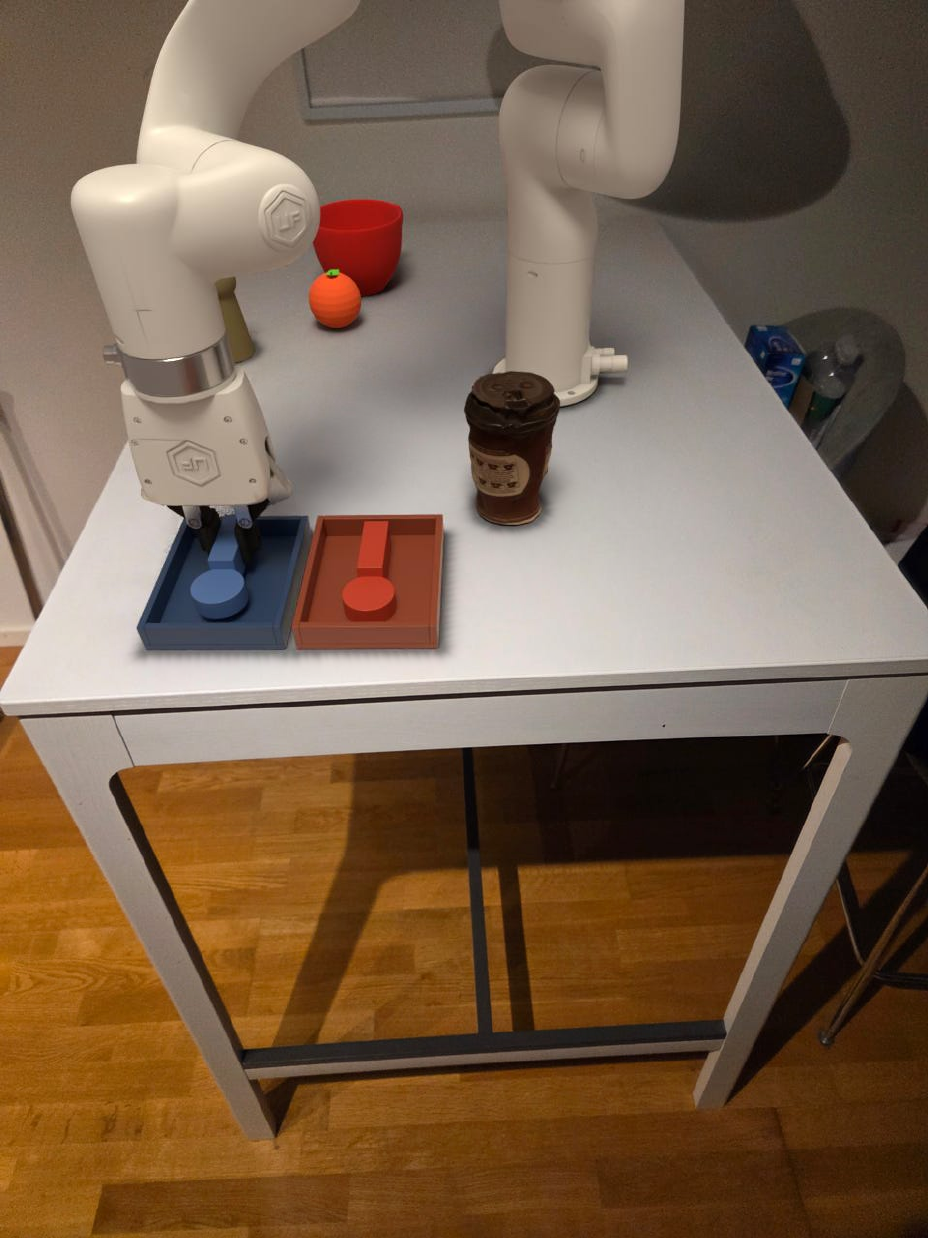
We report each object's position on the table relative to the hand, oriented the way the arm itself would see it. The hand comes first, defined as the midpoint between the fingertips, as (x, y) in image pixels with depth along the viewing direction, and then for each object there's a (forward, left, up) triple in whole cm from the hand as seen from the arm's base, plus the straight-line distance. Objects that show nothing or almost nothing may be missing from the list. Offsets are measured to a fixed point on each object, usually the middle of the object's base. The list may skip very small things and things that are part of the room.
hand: (234, 553), depth 71 cm
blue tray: (0, +2, -2) cm, 3 cm away
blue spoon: (0, +2, -1) cm, 3 cm away
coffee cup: (-25, -9, -2) cm, 26 cm away
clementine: (-3, -51, -2) cm, 51 cm away
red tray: (-13, +2, -2) cm, 13 cm away
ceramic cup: (-6, -65, -2) cm, 65 cm away
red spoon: (-13, +2, -2) cm, 13 cm away
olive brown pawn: (+10, -43, -2) cm, 44 cm away
